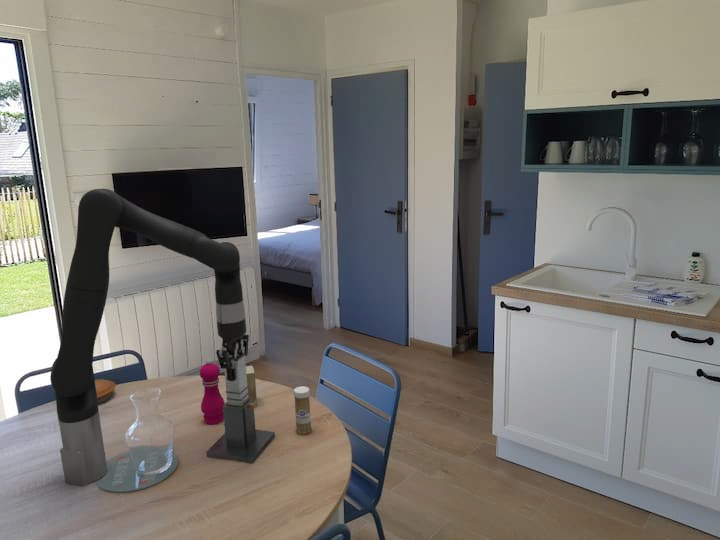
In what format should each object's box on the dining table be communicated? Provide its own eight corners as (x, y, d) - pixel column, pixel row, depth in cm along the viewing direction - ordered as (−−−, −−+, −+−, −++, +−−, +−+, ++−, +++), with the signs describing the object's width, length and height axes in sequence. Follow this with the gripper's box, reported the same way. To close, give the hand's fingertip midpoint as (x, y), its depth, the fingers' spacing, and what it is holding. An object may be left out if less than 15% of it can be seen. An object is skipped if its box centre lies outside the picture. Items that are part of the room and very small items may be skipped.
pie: (126, 391, 191) (125, 378, 190) (93, 412, 176) (91, 398, 175) (91, 387, 195) (89, 374, 194) (56, 407, 181) (53, 393, 180)
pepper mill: (212, 427, 164) (206, 366, 160) (197, 420, 169) (191, 360, 164) (231, 417, 170) (225, 358, 165) (216, 411, 174) (210, 353, 170)
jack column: (243, 427, 149) (237, 359, 145) (228, 425, 150) (222, 357, 146) (250, 419, 153) (245, 353, 149) (236, 417, 155) (230, 351, 150)
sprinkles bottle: (297, 436, 158) (295, 393, 155) (294, 428, 162) (292, 387, 159) (313, 433, 159) (310, 391, 156) (309, 425, 164) (307, 384, 161)
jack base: (252, 463, 145) (249, 417, 142) (206, 456, 149) (202, 411, 146) (275, 436, 158) (272, 393, 155) (232, 430, 162) (228, 389, 159)
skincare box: (242, 400, 181) (239, 366, 178) (255, 398, 182) (252, 364, 180) (244, 409, 175) (241, 374, 172) (257, 407, 176) (254, 372, 174)
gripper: (231, 308, 153) (236, 365, 157) (203, 324, 139) (209, 386, 143) (255, 310, 151) (260, 368, 154) (230, 326, 137) (235, 389, 141)
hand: (235, 376), depth 149 cm, fingers closed on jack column, 4 cm apart
